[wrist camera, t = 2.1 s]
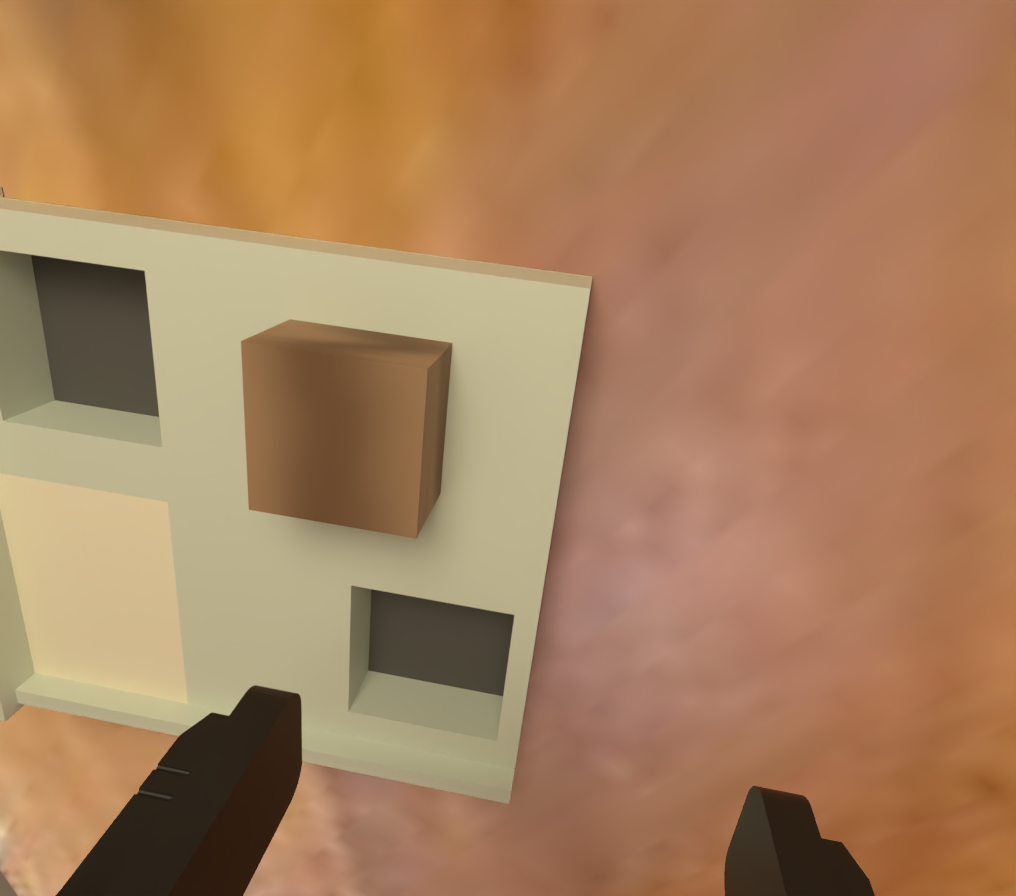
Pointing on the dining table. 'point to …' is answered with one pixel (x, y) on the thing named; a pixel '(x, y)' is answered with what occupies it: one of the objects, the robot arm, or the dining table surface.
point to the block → (345, 425)
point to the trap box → (258, 535)
